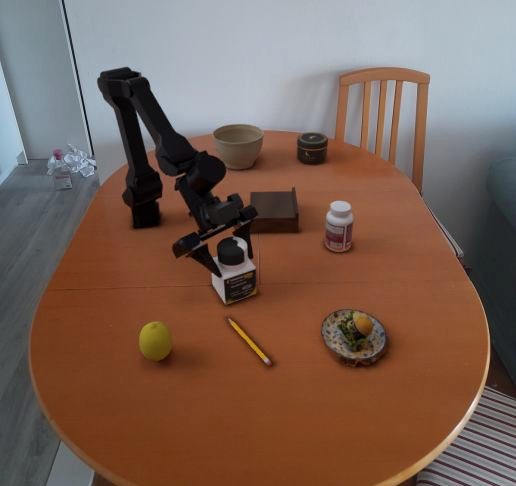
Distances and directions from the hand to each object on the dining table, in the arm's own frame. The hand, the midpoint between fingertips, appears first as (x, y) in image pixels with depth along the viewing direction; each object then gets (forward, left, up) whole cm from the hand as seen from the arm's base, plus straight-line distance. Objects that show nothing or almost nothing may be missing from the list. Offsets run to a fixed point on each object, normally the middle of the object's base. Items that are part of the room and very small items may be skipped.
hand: (236, 267), depth 89 cm
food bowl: (+19, -16, -7) cm, 26 cm away
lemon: (-16, -14, -7) cm, 22 cm away
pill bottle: (+25, +12, -7) cm, 29 cm away
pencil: (0, -13, -7) cm, 15 cm away
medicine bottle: (-1, +1, -7) cm, 7 cm away
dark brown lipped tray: (+12, +26, -7) cm, 30 cm away
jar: (+31, +59, -7) cm, 67 cm away
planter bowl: (+7, +60, -7) cm, 61 cm away
